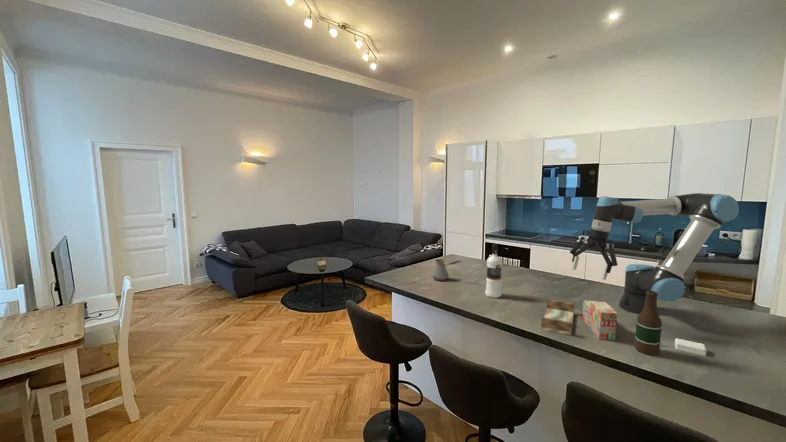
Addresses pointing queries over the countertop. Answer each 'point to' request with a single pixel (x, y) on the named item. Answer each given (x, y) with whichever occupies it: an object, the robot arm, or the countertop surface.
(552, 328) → the cradle
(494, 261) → the vodka
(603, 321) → the stack of blocks
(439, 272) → the coffee pot
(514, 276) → the countertop surface
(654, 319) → the beer bottle
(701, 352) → the soap
